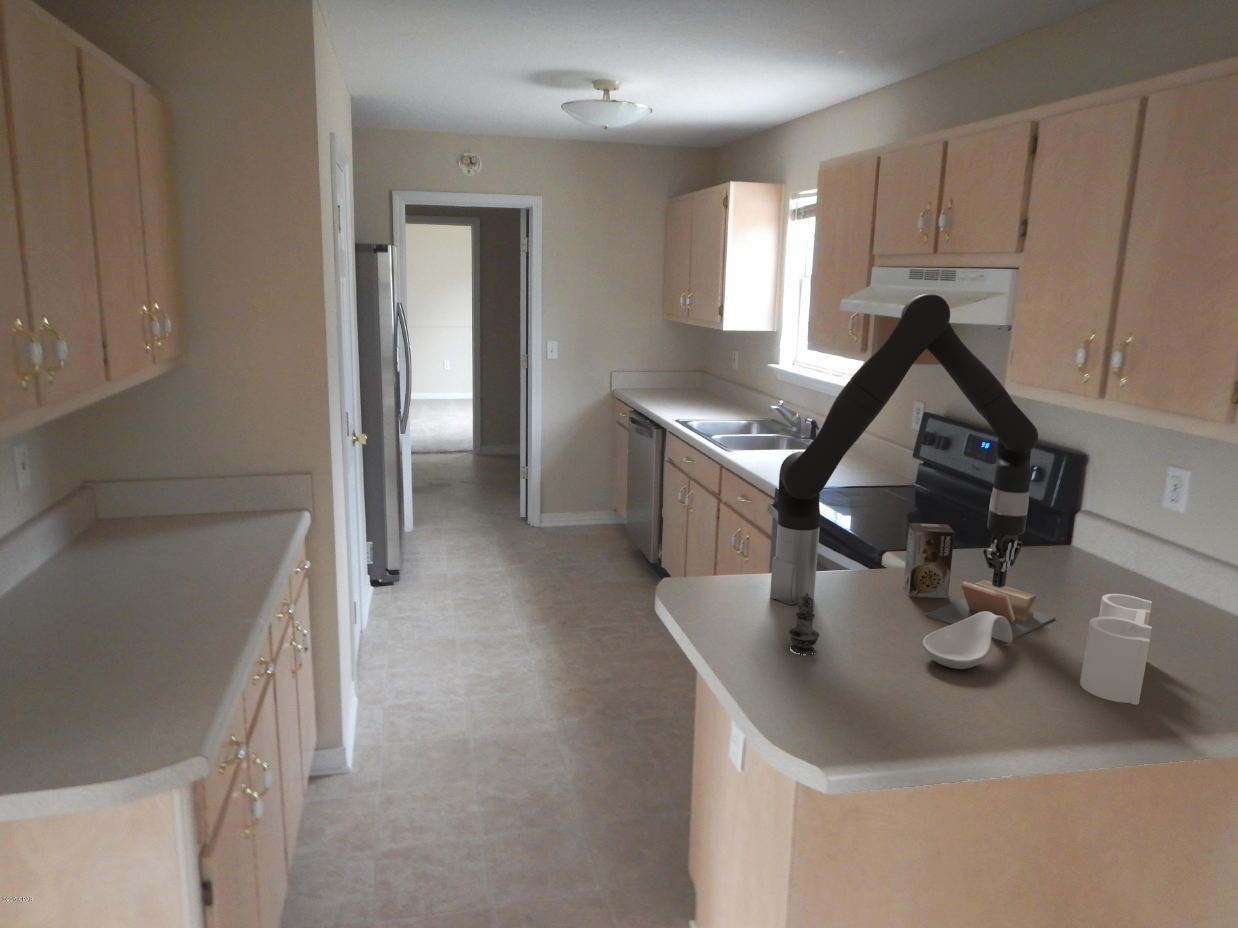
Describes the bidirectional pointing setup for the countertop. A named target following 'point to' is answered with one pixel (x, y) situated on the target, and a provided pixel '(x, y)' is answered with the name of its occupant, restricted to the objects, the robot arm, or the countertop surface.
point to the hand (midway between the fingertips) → (998, 586)
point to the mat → (962, 611)
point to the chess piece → (804, 628)
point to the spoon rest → (967, 640)
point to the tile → (988, 600)
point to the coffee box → (928, 560)
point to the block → (1015, 600)
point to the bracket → (1117, 649)
